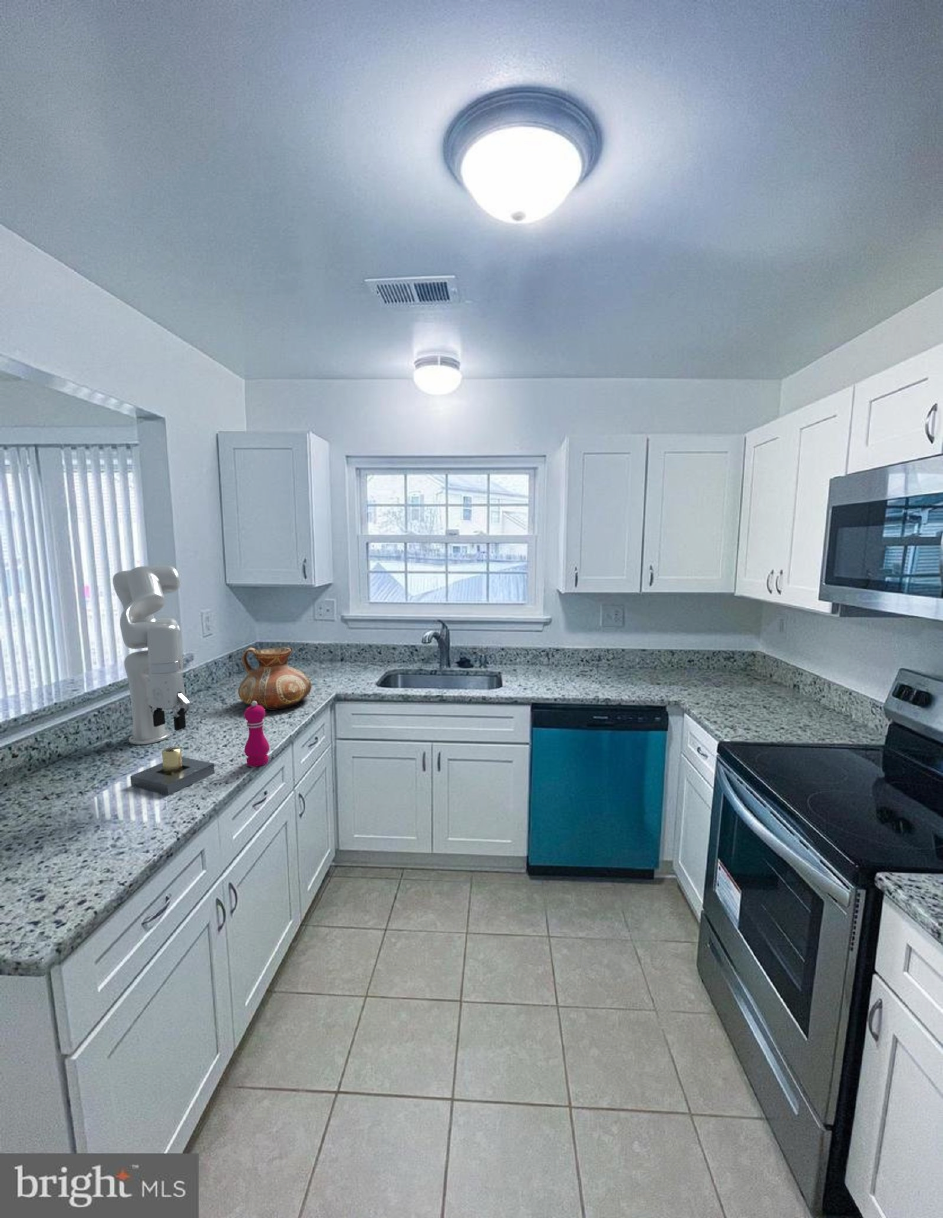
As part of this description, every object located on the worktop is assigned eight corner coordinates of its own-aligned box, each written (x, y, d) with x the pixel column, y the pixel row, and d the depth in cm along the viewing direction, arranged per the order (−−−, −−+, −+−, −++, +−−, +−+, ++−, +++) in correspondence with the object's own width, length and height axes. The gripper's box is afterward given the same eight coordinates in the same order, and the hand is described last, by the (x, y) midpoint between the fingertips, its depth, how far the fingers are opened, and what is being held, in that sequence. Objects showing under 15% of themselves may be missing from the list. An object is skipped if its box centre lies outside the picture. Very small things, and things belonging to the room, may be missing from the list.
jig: (131, 786, 145) (130, 775, 145) (179, 765, 159) (178, 756, 158) (168, 795, 139) (167, 784, 139) (214, 773, 153) (213, 763, 153)
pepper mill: (243, 768, 156) (239, 705, 154) (247, 759, 163) (243, 698, 160) (268, 766, 158) (265, 703, 155) (271, 756, 165) (267, 696, 162)
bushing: (160, 781, 148) (157, 751, 147) (175, 774, 152) (173, 745, 151) (172, 784, 146) (169, 753, 145) (187, 777, 150) (184, 747, 149)
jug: (298, 690, 243) (296, 638, 240) (324, 704, 220) (322, 647, 217) (231, 702, 224) (227, 646, 221) (252, 719, 201) (248, 657, 198)
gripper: (131, 667, 145) (136, 727, 147) (174, 673, 138) (179, 735, 140) (156, 662, 152) (161, 719, 154) (198, 667, 145) (202, 726, 147)
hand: (169, 726), depth 147 cm, fingers open, 7 cm apart
